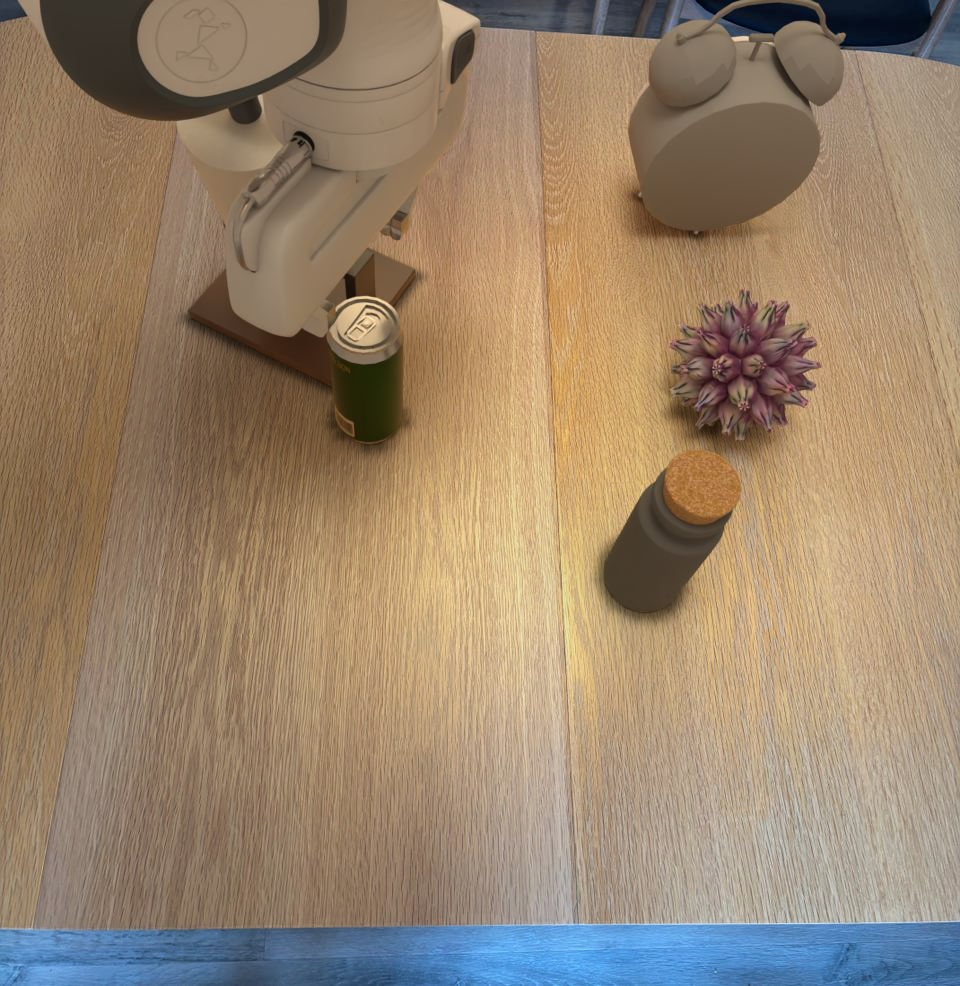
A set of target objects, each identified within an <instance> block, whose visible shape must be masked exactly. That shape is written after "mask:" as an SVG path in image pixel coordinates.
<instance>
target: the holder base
mask: <svg viewBox="0 0 960 986" xmlns="http://www.w3.org/2000/svg"><path fill="white" fill-rule="evenodd" d="M221 221H222V224H223V229H224V231H225V224H224V222H223V220H222V219H221ZM415 277H416V269H415V268H413V267H411V266H409V265H407V264H404V263H402V262H400V261H398V260H396V259H394V258H392V257H389V256H387V255H385V254H382V253H380V252H378V251H377V250H373V249H372V248H370V247H367V248H366V250H365V251H364V252H363V253H362V255H361V256H360V257H359V258H358V259H357V261H356V262H355V263H354V264H353V266H352V267H351V268H350V269H349V270H348V272H347V273H346V274H345V279H343V278H342V279H341V280H340V281H339V283H338V284H337V285H336V286H335V288H334V289H333V290H332V291H331V292H330V294H329V295H328V296H327V297H326V299H325V300H326V301H329V302H331V303H333V304H335V307H336V306H338V305H339V304H341V303H342V302H343V301H345V300H348V299H351V298H354V297H360V296H369V297H375V298H379V299H381V300H383V301H385V302H387V303H388V304H390V305H391V306H392V307H393V308H394V306H395V304H396V303H397V302H398V300H400V298H401V297H402V295H403V293H404V292H405V291H406V290H407V288H408V287H409V285H410V284H411V283H412V282H413V280H414V279H415ZM187 312H188V315H189V318H190V319H192V320H194V321H196V322H198V323H200V324H202V325H204V326H206V327H208V328H210V329H212V330H214V331H216V332H219V333H221V334H223V335H224V336H226V337H229V338H230V339H233V340H235V341H236V342H238V343H241V344H243V345H244V346H247V347H249V348H250V349H252V350H255V351H257V352H259V353H261V354H264V355H265V356H268V357H269V358H272V359H273V360H276V361H278V362H280V363H282V364H284V365H286V366H288V367H290V368H292V369H294V370H296V371H297V372H301V374H304V375H307V376H309V377H311V378H313V379H315V380H316V381H318V382H321V383H323V384H324V385H326V386H328V387H331V388H332V380H331V371H330V362H329V353H328V344H327V334H325V335H324V337H318V336H316V335H314V334H312V333H310V332H308V331H306V330H304V329H303V328H301V329H300V331H299V332H298V333H297V334H295V335H294V336H292V337H284V336H278V335H275V334H272V333H269V332H267V331H265V330H262V329H260V328H258V327H256V326H254V325H252V324H250V323H249V322H247V321H245V320H243V319H242V318H241V317H239V316H238V315H237V314H236V313H235V312H234V311H233V309H232V306H231V303H230V297H229V290H228V283H227V274H226V268H225V269H224V270H223V271H222V272H221V273H220V275H218V276H217V278H216V279H215V280H214V281H213V282H212V283H211V284H210V285H209V287H207V288H206V290H205V291H204V292H203V293H202V294H201V295H200V296H199V297H198V298H197V300H195V302H194V303H192V305H191V306H190V307H189V308H188V310H187Z"/></svg>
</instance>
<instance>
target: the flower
mask: <svg viewBox="0 0 960 986" xmlns="http://www.w3.org/2000/svg"><path fill="white" fill-rule="evenodd" d="M790 307H791V304H790V303H789V301H788V300H785V301H781V302H780V304H779V303H778V301H777V300H775V299H769V300H768V301H767V303H766V305H765V306H763V307H761V308H760V309H759V303H758V301H757V300H755V301H753V300H751V293H750V289H749V288H746V289H745V290H744V289H743V288H740V290H739V292H738V298H737V301H736V303H735V305H734V302H733V300H732V299H730V300H726V301H725V303H724V309H723V308H722V307H721V305H720V303H717V302H714V304H711V307H708V306H707V304H706V303H705V302H703V301H700V302H699V304H698V305H696V309H697V311H698V313H699V315H700V320H701V322H700V326H690V325H688V324H686V323H683V322H682V323H681V324H680V328H679V332H680V333H682V335H684V337H685V338H683V339H677V338H672V339H671V342H670V343H669V346H668V348H669V349H672V350H674V351H675V352H677V354H678V355H679V356H681V358H682V359H683V360H682V361H681V362H679V363H677V364H674V365H671V366H670V369H669V371H670V374H672V375H679V376H680V378H679V380H678V381H677V383H676V384H675V385H674V386H673V387H671V388H669V389H668V392H670V393H669V394H670V396H671V398H672V399H676V398H684V399H683V400H681V402H680V403H681V405H682V406H683V408H684V407H686V408H687V406H688V407H689V406H690V405H694V406H693V409H694V411H695V412H699V414H698V419H697V421H696V423H695V424H694V425H695V426H697V428H698V430H701V428H702V427H703V426H704V425H706V424H707V425H708V426H709V427H710V426H711V427H713V426H715V424H716V423H717V422H718V421H719V420H720V422H721V434H722V435H724V436H727V435H728V436H731V434H732V431H733V434H734V440H735V442H739V441H745V440H746V433H747V432H748V430H749V429H750V428H754V427H755V426H757V425H756V424H757V423H758V424H759V425H761V426H762V427H763V428H764V429H765V432H766V433H768V434H771V433H772V431H773V430H775V425H774V423H776V424H777V425H778V426H779V427H780V428H783V427H786V425H788V424H789V420H788V419H787V416H786V406H785V405H787V406H791V405H792V406H799V407H801V408H803V409H805V408H806V406H808V405H809V403H810V401H809V400H808V399H807V398H805V396H803V395H802V394H801V391H808V392H813V390H814V389H815V388H816V387H817V384H816V383H815V382H814V381H811V380H809V379H808V378H807V376H805V373H807V372H809V371H812V370H818V369H821V368H822V363H821V361H818V360H817V361H816V360H810V359H807V358H805V357H804V356H805V354H807V352H808V351H809V350H811V349H813V348H815V347H818V341H817V340H816V337H814V336H810V337H803V336H804V335H805V333H807V331H808V330H810V329H811V327H812V325H811V324H810V322H809V321H808V320H804V321H802V322H800V323H797V324H796V323H795V324H786V317H787V313H788V311H789V310H790Z"/></svg>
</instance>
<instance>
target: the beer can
mask: <svg viewBox="0 0 960 986" xmlns="http://www.w3.org/2000/svg"><path fill="white" fill-rule="evenodd" d="M335 316H336V321H335V322H334V324H333V325H332V326H331V328H330V329H329V330H328V331H327V333H326V334H327V344H328V353H329V362H330V371H331V380H332V387H331V388H332V396H333V407H334V416H335V422H336V424H337V426H338V428H339V430H340V431H341V432H342V433H343V434H344V435H346V437H348V438H349V439H351V440H353V441H354V442H357V443H360V444H365V445H373V444H378V443H381V442H384V441H386V440H387V439H388V438H390V437H392V435H394V434H395V433H396V432H397V430H398V428H399V427H400V426H401V423H402V420H403V415H404V411H403V410H404V358H405V357H404V352H405V351H404V349H405V348H404V347H405V345H404V344H405V333H404V327H403V324H402V322H401V319H400V318H401V317H400V315H399V314H398V312H397V311H396V309H395V308H394V306H393V307H392V306H391V305H390V304H388V303H387V302H385V301H383V300H381V299H379V298H375V297H369V296H360V297H354V298H351V299H348V300H345V301H343V302H342V303H341V304H339V305H338V306H336V313H335Z"/></svg>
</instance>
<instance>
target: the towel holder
mask: <svg viewBox="0 0 960 986" xmlns="http://www.w3.org/2000/svg"><path fill="white" fill-rule="evenodd" d="M175 123H176V124H175V125H176V130H177V133H178V136H179V139H180V141H181V142H182V145H183V146H184V148H185V150H186V153H187V154H188V155H189V158H190V160H191V163H192V164H193V166H194V168H195V170H196V172H197V174H198V175H199V177H200V179H201V181H202V183H203V185H204V187H205V189H206V191H207V193H208V195H209V197H210V199H211V200H212V203H213V204H214V206H215V209H216V210H217V212H218V214H219V216H220V218H221V221H222V220H223V221H222V223H223V222H224V224H225V226H226V220H227V216H228V213H229V210H230V208H231V206H232V204H233V202H234V201H235V199H236V198H237V196H238V195H239V194H240V192H241V191H242V190H243V189H244V188H245V187H246V185H247V184H248V183H249V181H250V180H251V179H252V178H253V177H254V176H256V175H257V174H258V173H259V172H260V171H261V170H262V169H263V168H264V167H265V166H266V165H267V164H268V163H269V162H270V161H271V160H272V159H273V158H274V156H275V155H276V154H277V153H278V152H279V151H280V150H281V149H282V148H283V147H284V146H283V145H282V144H281V143H280V142H279V141H278V140H277V139H276V138H275V136H274V135H273V134H272V132H271V130H270V128H269V126H268V124H267V121H266V116H265V110H264V103H263V96H262V94H261V95H259V96H256V97H254V98H252V99H249V100H247V101H245V102H242V103H240V104H237V105H235V106H232V107H230V108H227V109H224V110H222V111H219V112H216V113H213V114H210V115H207V116H203V117H199V118H194V119H189V120H181V121H175ZM343 279H345V275H344V277H343Z"/></svg>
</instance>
